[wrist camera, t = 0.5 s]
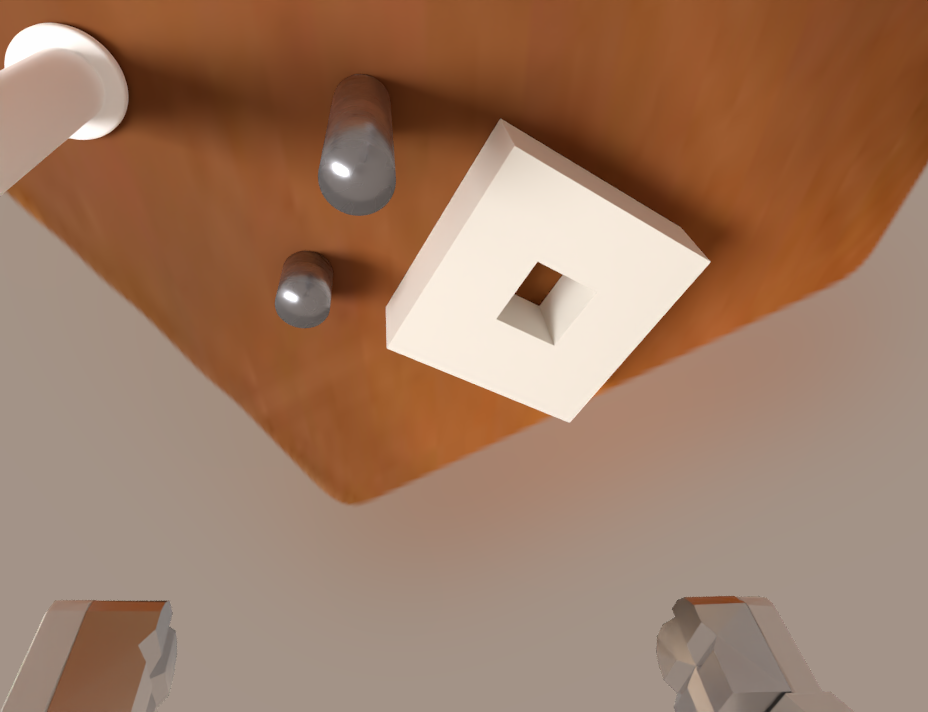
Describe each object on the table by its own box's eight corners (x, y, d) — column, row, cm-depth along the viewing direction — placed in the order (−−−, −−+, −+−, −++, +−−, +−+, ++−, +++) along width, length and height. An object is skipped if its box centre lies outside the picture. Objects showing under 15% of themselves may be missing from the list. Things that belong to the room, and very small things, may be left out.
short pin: (294, 242, 51) (287, 273, 47) (341, 263, 52) (338, 295, 48) (275, 282, 52) (266, 315, 48) (321, 301, 54) (316, 335, 50)
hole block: (500, 118, 47) (514, 145, 42) (680, 227, 53) (710, 261, 49) (385, 307, 55) (386, 348, 50) (554, 380, 62) (569, 422, 57)
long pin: (348, 62, 43) (337, 127, 32) (400, 93, 45) (409, 165, 34) (323, 115, 45) (305, 194, 34) (375, 143, 47) (374, 227, 35)
